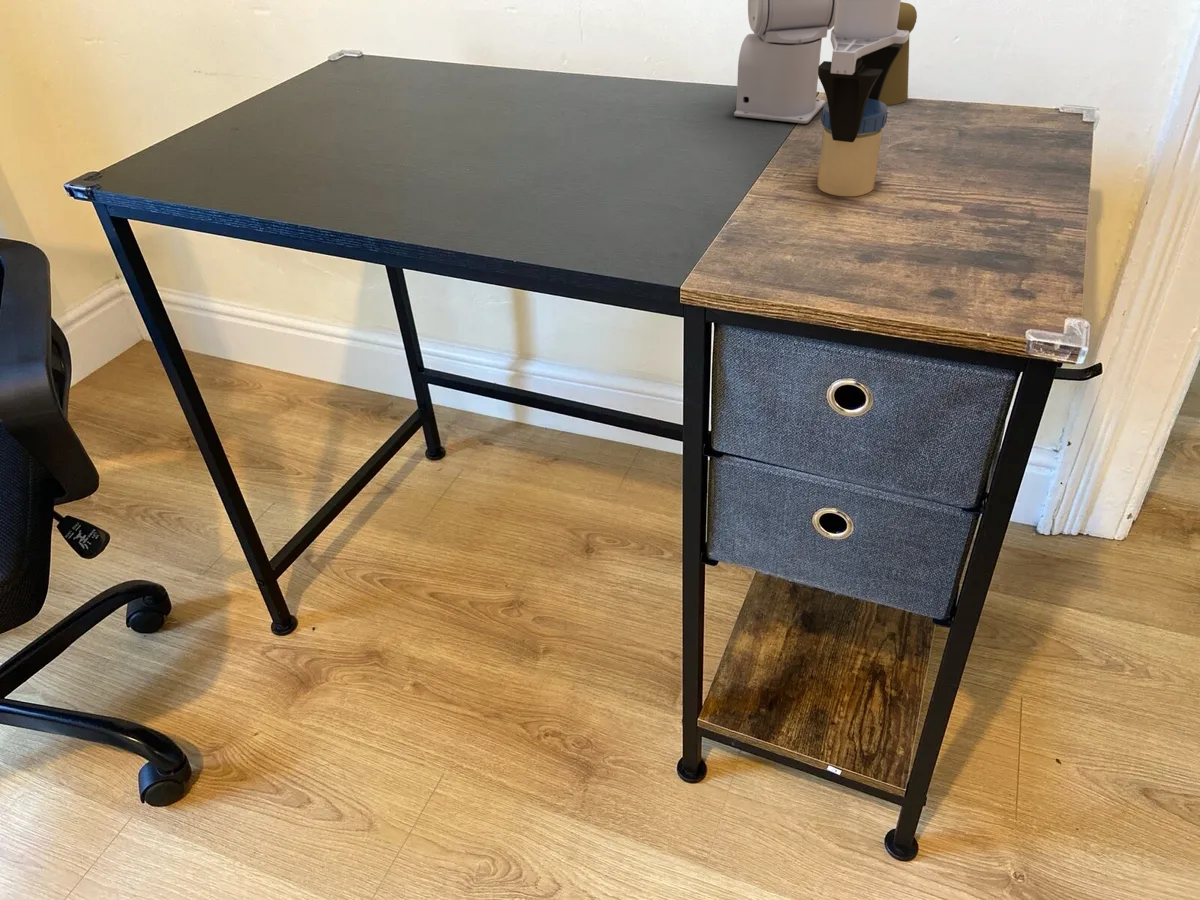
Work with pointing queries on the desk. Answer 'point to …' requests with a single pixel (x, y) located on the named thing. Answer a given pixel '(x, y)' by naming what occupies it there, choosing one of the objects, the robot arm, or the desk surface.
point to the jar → (848, 164)
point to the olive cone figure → (900, 61)
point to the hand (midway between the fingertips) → (852, 129)
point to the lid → (864, 116)
